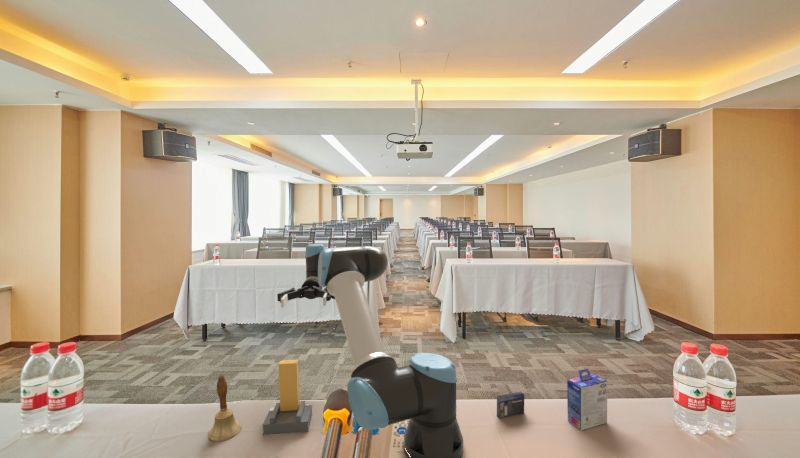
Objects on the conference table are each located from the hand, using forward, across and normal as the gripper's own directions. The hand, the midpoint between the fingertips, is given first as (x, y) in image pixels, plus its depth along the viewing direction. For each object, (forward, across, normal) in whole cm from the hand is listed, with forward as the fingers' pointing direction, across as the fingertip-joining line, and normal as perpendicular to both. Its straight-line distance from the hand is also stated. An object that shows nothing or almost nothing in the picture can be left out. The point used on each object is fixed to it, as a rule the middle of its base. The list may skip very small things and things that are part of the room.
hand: (303, 302), depth 118 cm
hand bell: (+20, +19, -30) cm, 41 cm away
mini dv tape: (+22, -62, -30) cm, 72 cm away
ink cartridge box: (+28, -82, -30) cm, 92 cm away
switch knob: (+16, +2, -27) cm, 31 cm away
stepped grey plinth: (+19, +2, -30) cm, 35 cm away
